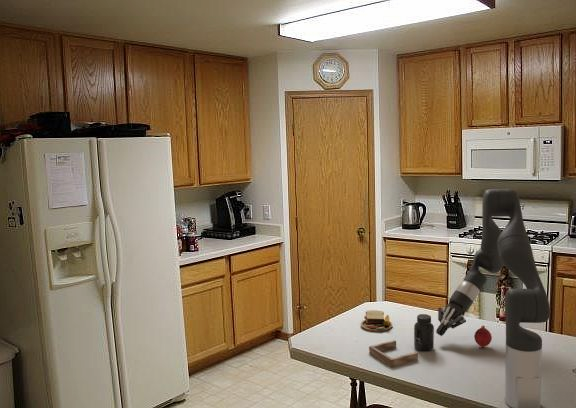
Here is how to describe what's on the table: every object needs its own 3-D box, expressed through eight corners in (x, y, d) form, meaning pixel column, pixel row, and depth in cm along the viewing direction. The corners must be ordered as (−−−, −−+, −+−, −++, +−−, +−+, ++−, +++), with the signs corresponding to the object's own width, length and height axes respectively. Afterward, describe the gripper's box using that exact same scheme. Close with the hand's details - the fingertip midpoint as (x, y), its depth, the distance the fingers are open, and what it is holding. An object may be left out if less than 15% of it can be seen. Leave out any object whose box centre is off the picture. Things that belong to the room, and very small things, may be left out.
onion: (492, 351, 184) (493, 329, 183) (475, 350, 185) (475, 328, 184) (490, 344, 189) (490, 323, 188) (473, 343, 191) (473, 322, 190)
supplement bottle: (412, 350, 187) (411, 318, 185) (416, 343, 193) (416, 311, 191) (431, 353, 184) (431, 320, 182) (435, 346, 190) (435, 314, 188)
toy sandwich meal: (359, 332, 207) (359, 320, 206) (362, 319, 220) (362, 309, 219) (391, 333, 204) (391, 321, 203) (393, 321, 217) (392, 310, 216)
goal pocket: (394, 346, 191) (394, 340, 191) (417, 359, 179) (417, 352, 179) (369, 353, 186) (369, 346, 186) (391, 367, 175) (391, 359, 174)
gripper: (446, 285, 199) (420, 323, 195) (472, 294, 187) (445, 334, 183) (457, 297, 202) (432, 334, 198) (483, 306, 190) (457, 346, 186)
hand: (438, 334), depth 191 cm, fingers closed
